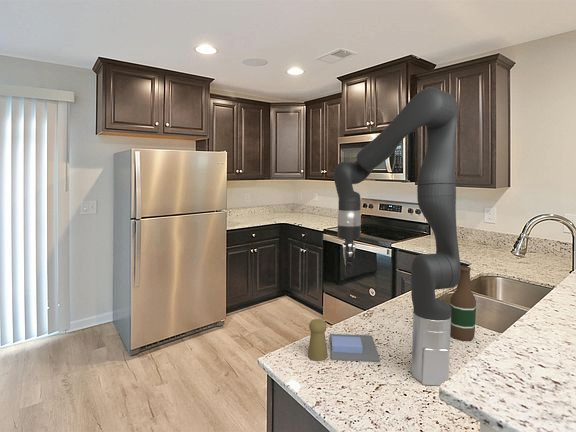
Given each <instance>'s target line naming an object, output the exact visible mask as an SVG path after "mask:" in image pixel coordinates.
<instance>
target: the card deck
mask: <svg viewBox="0 0 576 432" xmlns="http://www.w3.org/2000/svg"><path fill="white" fill-rule="evenodd" d="M332 352H345V353H362V343H361V338H360V337H344V336H332Z"/></svg>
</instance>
